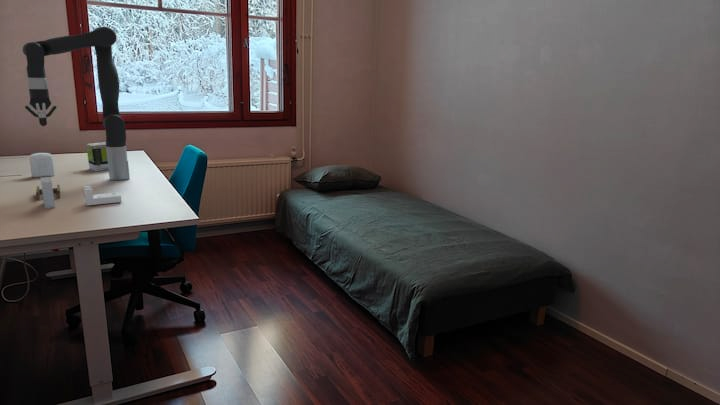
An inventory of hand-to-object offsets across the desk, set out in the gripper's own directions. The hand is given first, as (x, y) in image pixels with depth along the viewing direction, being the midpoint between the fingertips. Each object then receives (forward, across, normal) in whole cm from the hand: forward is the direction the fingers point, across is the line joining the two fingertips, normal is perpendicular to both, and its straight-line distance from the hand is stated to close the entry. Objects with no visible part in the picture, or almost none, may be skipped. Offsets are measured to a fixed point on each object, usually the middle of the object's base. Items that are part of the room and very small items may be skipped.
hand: (43, 125), depth 226 cm
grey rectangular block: (+29, -1, -39) cm, 48 cm away
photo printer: (+29, -4, +28) cm, 41 cm away
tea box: (+29, +26, +38) cm, 55 cm away
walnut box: (+29, -1, -21) cm, 36 cm away
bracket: (+30, +19, -44) cm, 56 cm away
